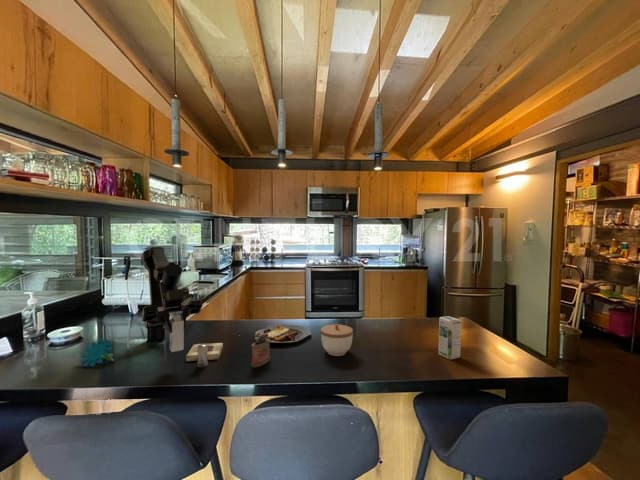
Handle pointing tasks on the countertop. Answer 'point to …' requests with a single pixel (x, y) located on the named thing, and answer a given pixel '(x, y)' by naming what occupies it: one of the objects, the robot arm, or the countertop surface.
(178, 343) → the square bit
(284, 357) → the countertop surface
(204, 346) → the round peg
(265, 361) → the lighter
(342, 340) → the lidded bowl
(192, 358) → the socket block
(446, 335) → the syrup box
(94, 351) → the teal lumpy clump
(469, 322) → the countertop surface
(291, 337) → the food plate
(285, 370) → the countertop surface
